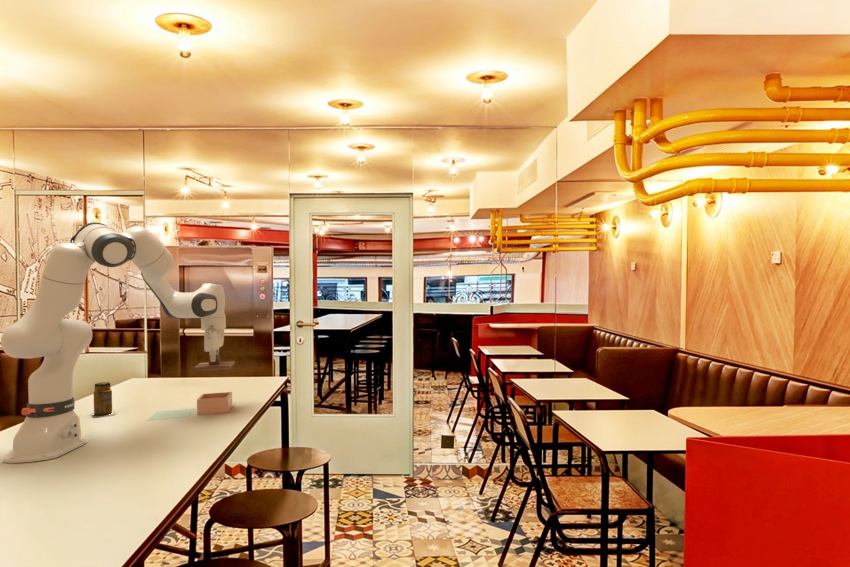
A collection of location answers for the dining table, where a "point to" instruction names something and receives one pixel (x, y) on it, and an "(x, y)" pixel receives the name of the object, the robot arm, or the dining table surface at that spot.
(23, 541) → the dining table surface
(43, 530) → the dining table surface
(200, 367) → the walnut lid
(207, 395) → the pink rectangular planter
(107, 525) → the dining table surface
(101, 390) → the condiment
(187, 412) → the pale green square mat
